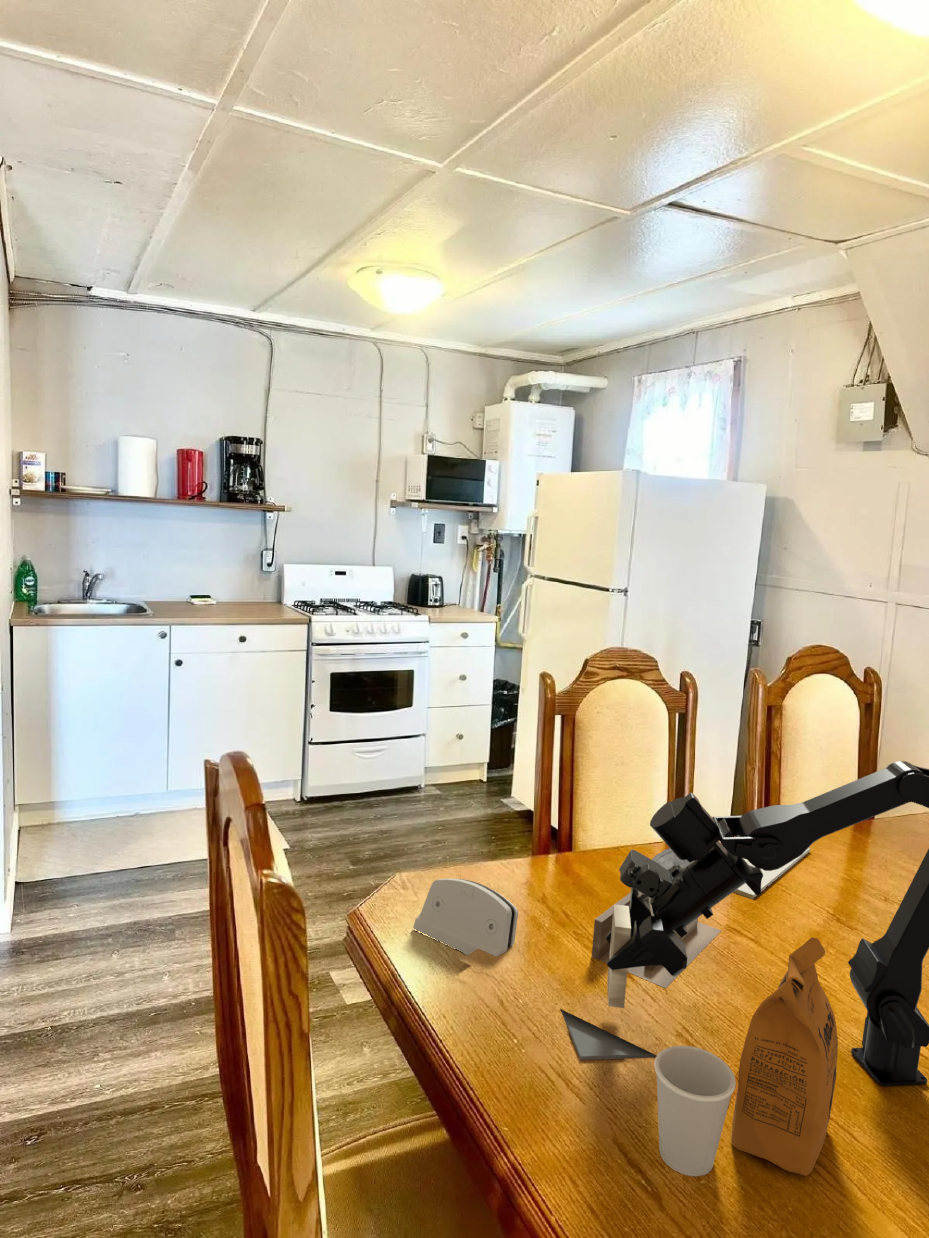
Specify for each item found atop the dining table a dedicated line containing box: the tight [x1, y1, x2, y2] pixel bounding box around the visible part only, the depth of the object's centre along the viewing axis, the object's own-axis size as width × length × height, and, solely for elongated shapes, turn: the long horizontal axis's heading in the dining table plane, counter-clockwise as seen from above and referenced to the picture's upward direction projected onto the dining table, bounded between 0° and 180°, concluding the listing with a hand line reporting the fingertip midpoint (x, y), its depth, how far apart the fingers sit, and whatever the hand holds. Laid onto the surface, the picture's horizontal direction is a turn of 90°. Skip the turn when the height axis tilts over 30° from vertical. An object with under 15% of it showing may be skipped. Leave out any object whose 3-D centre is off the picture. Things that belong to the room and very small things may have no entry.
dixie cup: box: [653, 1045, 737, 1177], centre depth 87 cm, size 8×8×10 cm
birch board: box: [606, 903, 631, 1009], centre depth 107 cm, size 2×6×11 cm, turn 172°
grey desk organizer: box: [591, 891, 722, 989], centre depth 128 cm, size 12×22×8 cm, turn 142°
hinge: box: [412, 877, 519, 958], centre depth 128 cm, size 17×5×10 cm, turn 54°
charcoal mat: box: [560, 1008, 658, 1061], centre depth 108 cm, size 12×12×1 cm
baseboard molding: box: [733, 847, 811, 900], centre depth 163 cm, size 31×3×12 cm
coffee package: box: [731, 937, 839, 1177], centre depth 89 cm, size 10×12×22 cm
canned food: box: [651, 847, 693, 870], centre depth 149 cm, size 11×10×10 cm
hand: (608, 953), depth 107 cm, fingers closed on birch board, 6 cm apart
